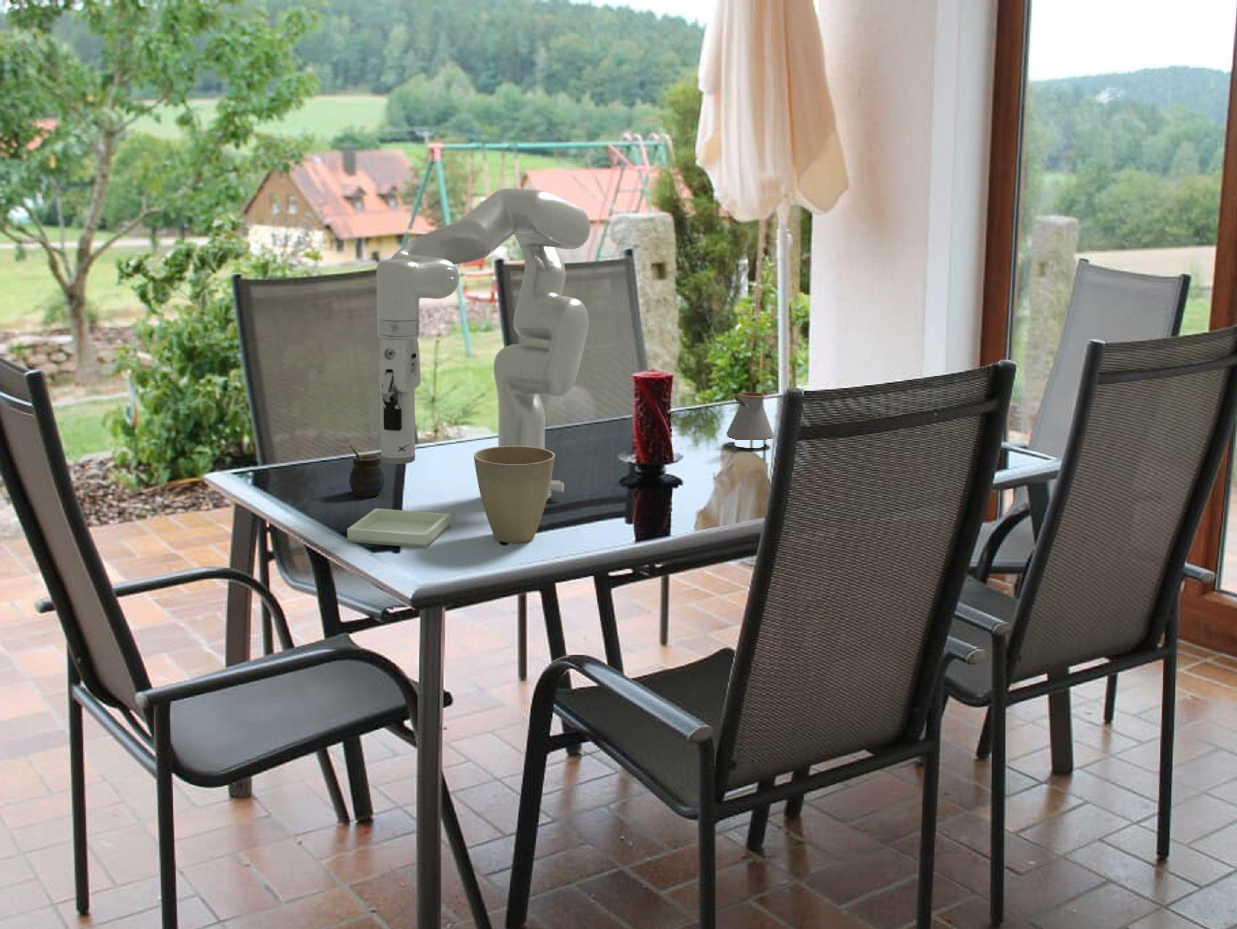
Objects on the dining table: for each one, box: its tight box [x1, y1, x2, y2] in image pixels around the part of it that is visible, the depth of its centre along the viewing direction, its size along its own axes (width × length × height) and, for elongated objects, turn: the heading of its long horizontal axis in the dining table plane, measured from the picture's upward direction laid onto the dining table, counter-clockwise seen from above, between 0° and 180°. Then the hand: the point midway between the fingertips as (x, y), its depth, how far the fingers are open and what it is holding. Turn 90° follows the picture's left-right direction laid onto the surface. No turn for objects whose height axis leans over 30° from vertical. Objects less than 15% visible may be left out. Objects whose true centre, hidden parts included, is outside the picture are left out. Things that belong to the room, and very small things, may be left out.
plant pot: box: [473, 446, 556, 544], centre depth 258 cm, size 15×15×16 cm
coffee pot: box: [726, 391, 774, 440], centre depth 337 cm, size 21×12×15 cm, turn 159°
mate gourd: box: [348, 445, 385, 498], centre depth 287 cm, size 7×8×10 cm
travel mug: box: [379, 353, 416, 465], centre depth 255 cm, size 6×7×20 cm
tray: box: [346, 508, 452, 549], centre depth 260 cm, size 15×15×2 cm
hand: (399, 425), depth 255 cm, fingers closed on travel mug, 6 cm apart
